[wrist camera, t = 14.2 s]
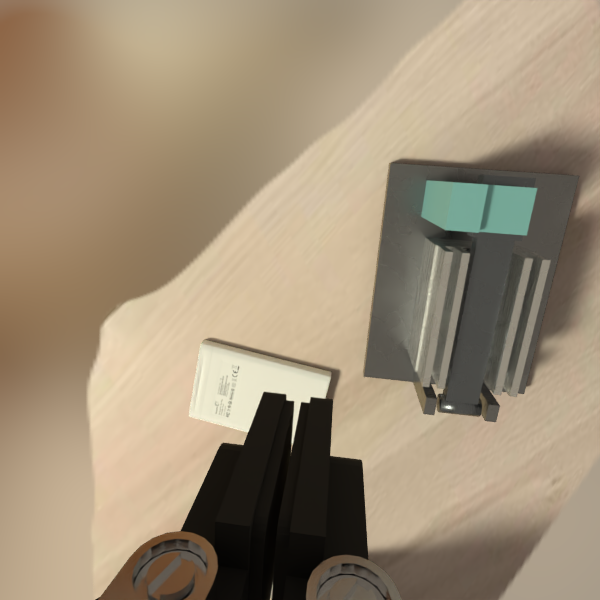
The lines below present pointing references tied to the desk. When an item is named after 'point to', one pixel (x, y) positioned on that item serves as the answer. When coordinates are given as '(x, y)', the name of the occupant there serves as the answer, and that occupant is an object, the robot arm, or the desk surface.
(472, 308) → the dark grey flat bar
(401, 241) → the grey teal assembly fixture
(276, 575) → the robot arm
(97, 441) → the desk surface
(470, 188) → the clip
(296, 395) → the external hard drive
